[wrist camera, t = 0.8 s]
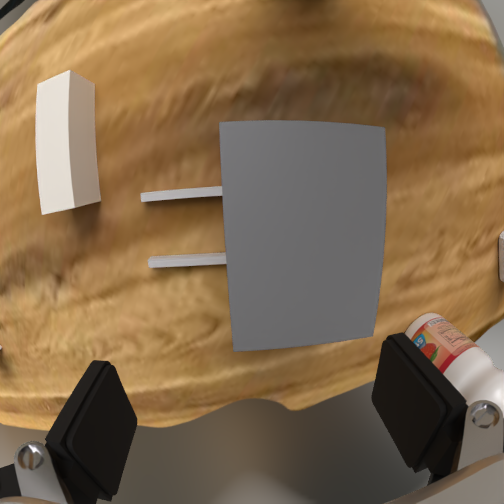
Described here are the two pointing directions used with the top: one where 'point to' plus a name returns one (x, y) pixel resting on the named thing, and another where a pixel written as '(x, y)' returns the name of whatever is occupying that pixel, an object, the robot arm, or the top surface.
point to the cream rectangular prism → (66, 143)
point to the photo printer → (501, 256)
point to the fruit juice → (458, 359)
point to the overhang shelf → (297, 230)
